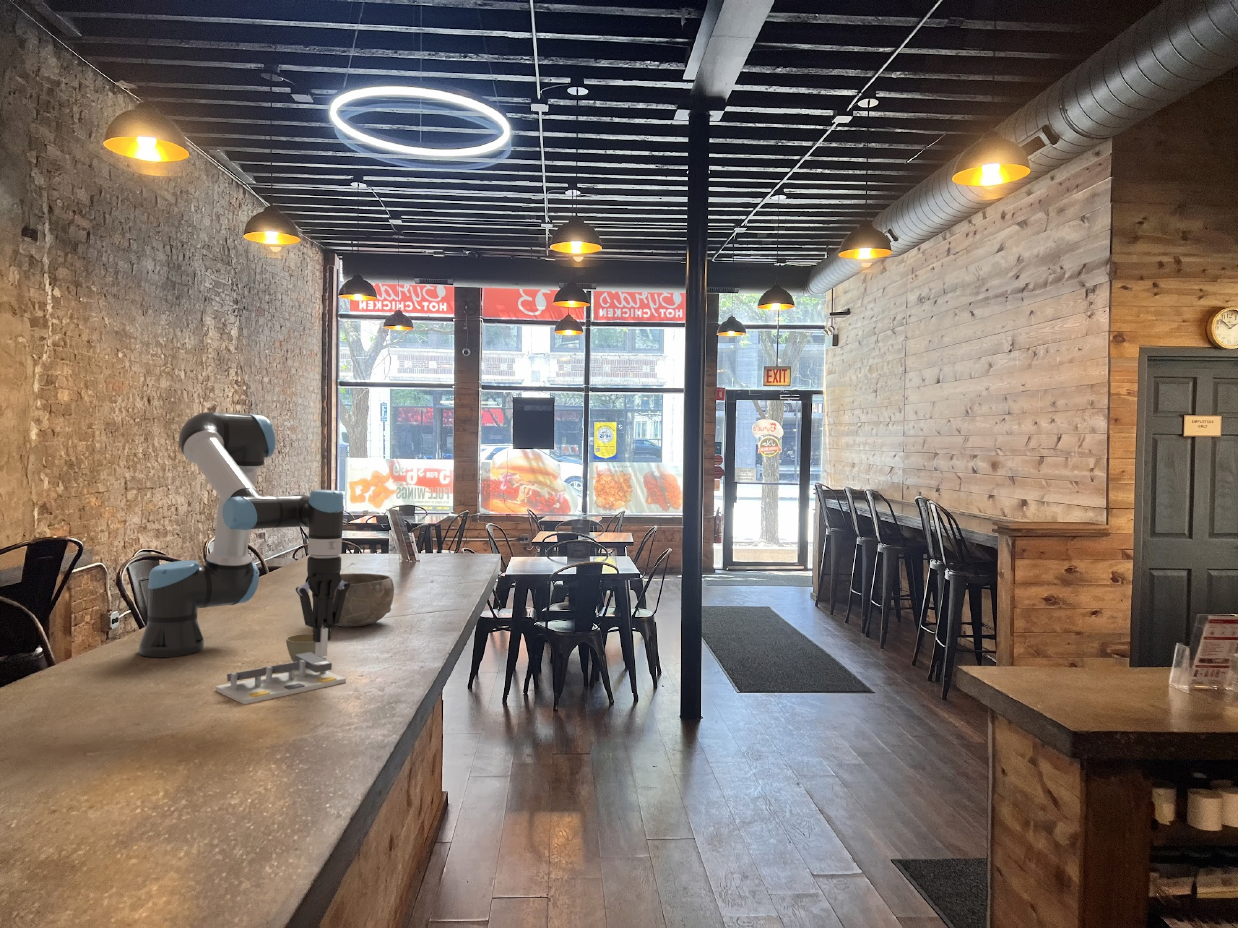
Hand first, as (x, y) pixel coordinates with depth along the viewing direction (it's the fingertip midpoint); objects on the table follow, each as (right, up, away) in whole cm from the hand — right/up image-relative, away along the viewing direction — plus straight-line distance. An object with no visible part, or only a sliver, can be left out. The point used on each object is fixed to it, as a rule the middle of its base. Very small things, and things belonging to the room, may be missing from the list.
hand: (321, 654), depth 190 cm
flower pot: (-9, -6, +14) cm, 18 cm away
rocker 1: (-13, -2, -10) cm, 17 cm away
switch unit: (-7, -6, -4) cm, 11 cm away
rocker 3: (-3, -2, +2) cm, 4 cm away
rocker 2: (-8, -2, -4) cm, 9 cm away
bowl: (-13, -6, +62) cm, 63 cm away
